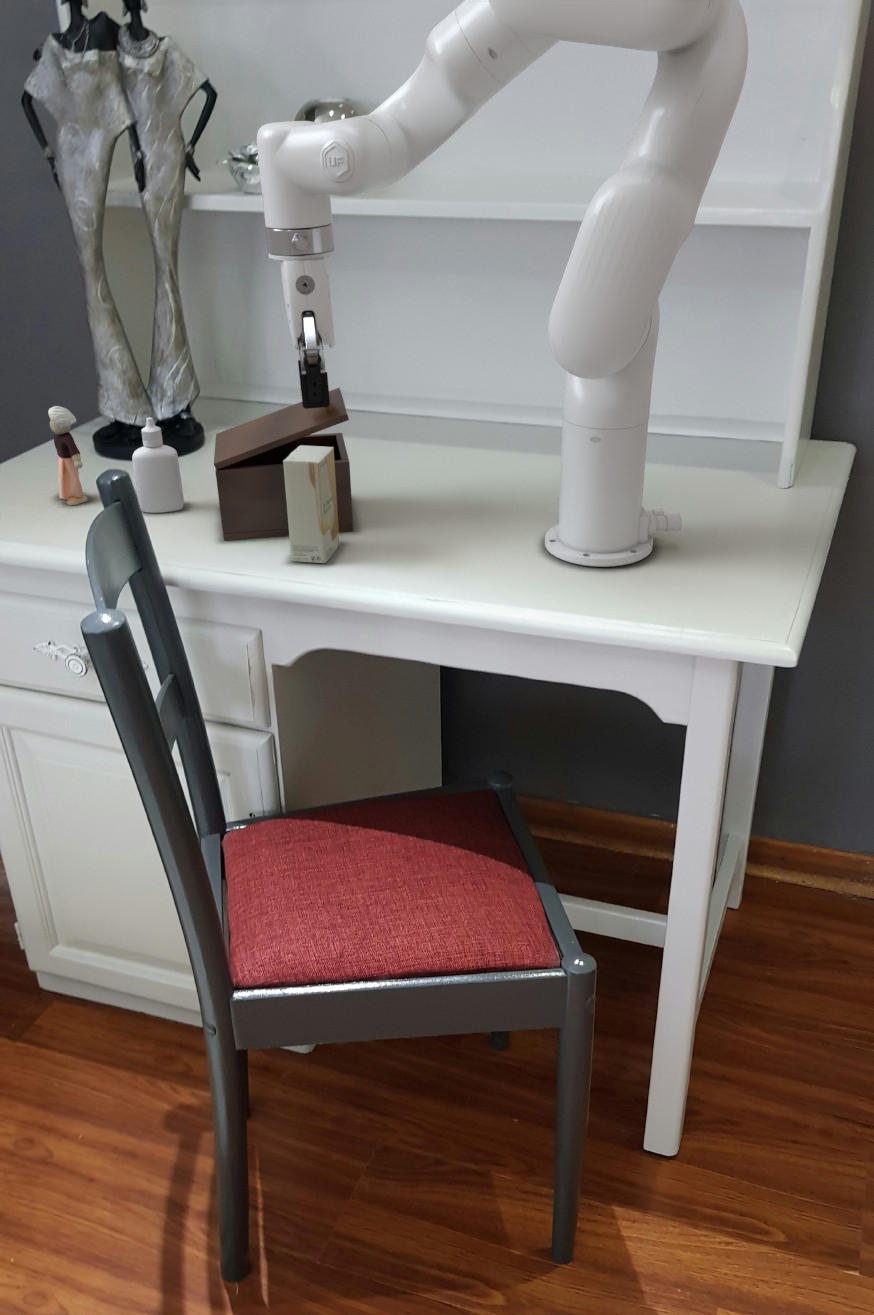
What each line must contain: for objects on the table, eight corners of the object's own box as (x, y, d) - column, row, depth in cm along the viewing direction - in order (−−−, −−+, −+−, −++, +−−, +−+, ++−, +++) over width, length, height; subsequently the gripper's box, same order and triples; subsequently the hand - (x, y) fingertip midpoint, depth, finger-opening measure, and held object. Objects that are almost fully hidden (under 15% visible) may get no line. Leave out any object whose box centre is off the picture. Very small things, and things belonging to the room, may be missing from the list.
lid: (341, 393, 140) (325, 349, 137) (349, 420, 130) (331, 373, 127) (218, 439, 141) (199, 397, 138) (216, 470, 131) (195, 425, 128)
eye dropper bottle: (154, 500, 148) (141, 411, 142) (190, 505, 146) (178, 415, 140) (134, 511, 144) (120, 421, 138) (170, 517, 142) (157, 425, 136)
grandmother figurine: (46, 497, 149) (28, 404, 143) (72, 490, 152) (55, 398, 146) (77, 511, 145) (60, 415, 138) (103, 503, 147) (87, 408, 141)
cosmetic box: (326, 565, 128) (318, 463, 122) (290, 562, 129) (281, 461, 123) (341, 543, 133) (335, 445, 128) (306, 541, 134) (299, 443, 128)
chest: (346, 498, 147) (342, 432, 143) (353, 531, 137) (349, 461, 133) (225, 506, 145) (217, 440, 141) (223, 540, 135) (215, 470, 131)
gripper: (338, 251, 119) (351, 416, 127) (329, 230, 134) (341, 379, 142) (267, 255, 118) (285, 422, 126) (267, 234, 133) (283, 384, 141)
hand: (315, 398), depth 134 cm, fingers closed on lid, 6 cm apart
